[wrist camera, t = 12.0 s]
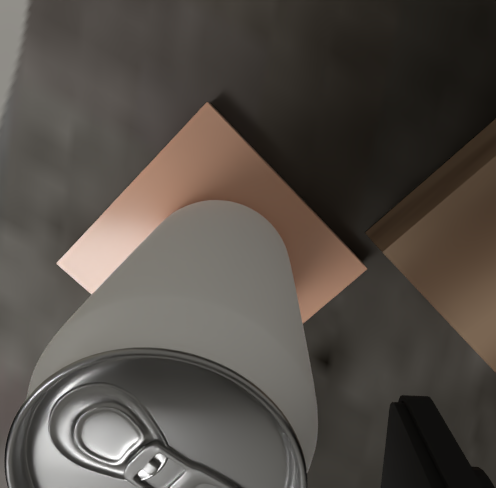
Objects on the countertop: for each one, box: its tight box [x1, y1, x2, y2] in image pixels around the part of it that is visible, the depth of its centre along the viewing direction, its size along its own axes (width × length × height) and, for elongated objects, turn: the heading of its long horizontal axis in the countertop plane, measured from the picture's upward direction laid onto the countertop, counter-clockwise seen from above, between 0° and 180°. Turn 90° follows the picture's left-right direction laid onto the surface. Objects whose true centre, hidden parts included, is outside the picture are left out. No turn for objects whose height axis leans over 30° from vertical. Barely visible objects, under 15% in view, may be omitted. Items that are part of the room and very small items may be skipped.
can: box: [5, 200, 318, 488], centre depth 14 cm, size 6×6×12 cm
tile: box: [56, 102, 367, 323], centre depth 20 cm, size 10×10×1 cm
